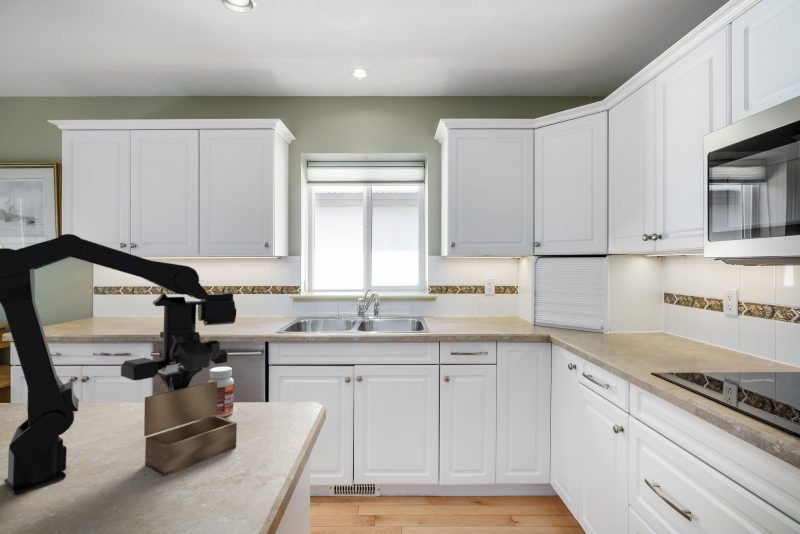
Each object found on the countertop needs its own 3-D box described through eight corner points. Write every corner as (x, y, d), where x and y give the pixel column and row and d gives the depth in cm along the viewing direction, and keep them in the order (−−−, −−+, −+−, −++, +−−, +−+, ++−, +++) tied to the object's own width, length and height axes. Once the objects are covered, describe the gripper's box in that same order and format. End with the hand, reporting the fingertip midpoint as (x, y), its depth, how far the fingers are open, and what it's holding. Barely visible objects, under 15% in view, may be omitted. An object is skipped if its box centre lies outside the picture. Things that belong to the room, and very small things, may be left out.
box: (164, 476, 68) (165, 447, 68) (144, 465, 72) (145, 437, 72) (236, 447, 80) (236, 422, 80) (216, 438, 84) (216, 415, 84)
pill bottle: (229, 418, 96) (230, 371, 96) (202, 418, 95) (203, 372, 95) (236, 409, 102) (237, 365, 102) (211, 410, 101) (212, 366, 101)
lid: (146, 397, 72) (144, 397, 73) (145, 436, 72) (143, 435, 73) (217, 381, 84) (215, 380, 85) (216, 414, 84) (215, 413, 84)
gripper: (150, 338, 67) (147, 428, 67) (244, 326, 83) (242, 399, 83) (120, 331, 73) (118, 414, 73) (213, 321, 89) (211, 389, 89)
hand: (177, 403), depth 80 cm, fingers closed, pressing on lid
